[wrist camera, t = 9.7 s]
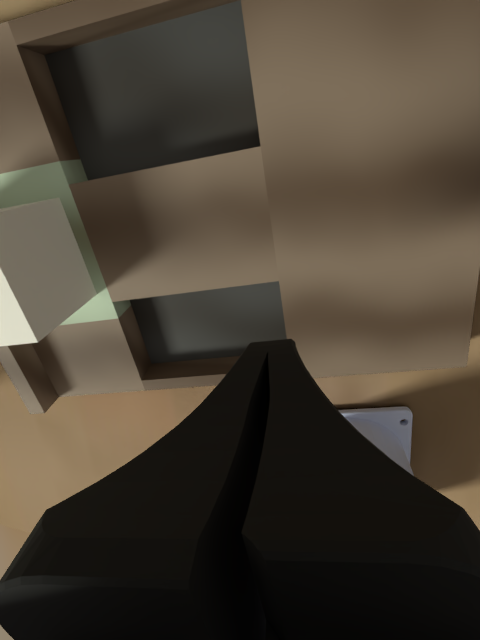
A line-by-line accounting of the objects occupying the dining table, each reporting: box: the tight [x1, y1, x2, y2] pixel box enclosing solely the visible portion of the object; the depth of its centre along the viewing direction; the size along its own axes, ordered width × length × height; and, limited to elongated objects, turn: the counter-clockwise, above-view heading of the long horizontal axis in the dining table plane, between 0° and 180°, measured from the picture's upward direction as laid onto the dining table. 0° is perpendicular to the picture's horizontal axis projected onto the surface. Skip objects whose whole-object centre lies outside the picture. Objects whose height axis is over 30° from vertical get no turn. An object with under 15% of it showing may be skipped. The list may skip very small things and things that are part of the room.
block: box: [0, 198, 97, 346], centre depth 16 cm, size 5×5×5 cm
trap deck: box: [0, 0, 480, 414], centre depth 16 cm, size 18×25×4 cm
